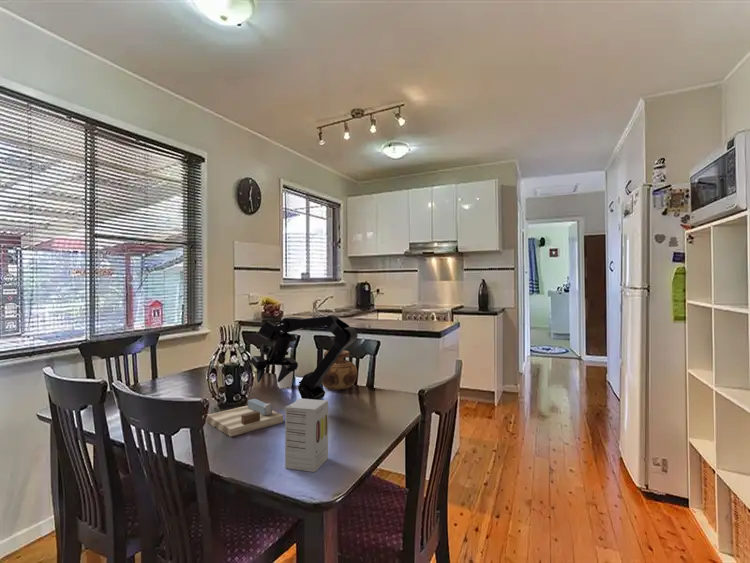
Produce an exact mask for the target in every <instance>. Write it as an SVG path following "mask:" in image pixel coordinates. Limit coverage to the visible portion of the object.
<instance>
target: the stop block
mask: <svg viewBox="0 0 750 563" xmlns="http://www.w3.org/2000/svg"><path fill="white" fill-rule="evenodd" d="M257 421H260V412H259V411H255V412H251V413H247V414H243V415H241V424H243V425H246V424H250V423H253V422H257Z"/></svg>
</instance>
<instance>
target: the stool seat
mask: <svg viewBox="0 0 750 563" xmlns="http://www.w3.org/2000/svg"><path fill="white" fill-rule="evenodd" d="M251 412H255V411H254V410H252V409H250V408H248V405H245V406H239V407H234V408H232V409H231V408H230V409H226V410H222V411H218V412H214V413H209V414H207V415H208V416H207V422H208V423H207V422H206V423H207V424H209V425H211V426H212V427H214V428H215V427H216V428H215V429H217V430H219V431H220V430H221V431H220V432H222V433H223V432H224V433H223V434H225V435H227V436H228V435H229V437H230V436H231V437H233V436H239V435H241V434H246V433H249V432H252V431H256V430H259V429H262V428H266V427H270V426H273V425H277V424H280V423H281V424H282V423H284V414H282V413H279V412H277V411H274V410H273V409H272V414H271V415H263V414H260V421H257V422H253V423H250V424H246V425H243V424H241V415H243V414H247V413H251Z"/></svg>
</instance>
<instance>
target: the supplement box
mask: <svg viewBox="0 0 750 563" xmlns="http://www.w3.org/2000/svg"><path fill="white" fill-rule="evenodd" d="M284 412H285V413H284V415H285V416H284V418H285V419H284V424H285V425H284V428H285V430H284V431H285V432H284V434H285V435H284V437H285V438H284V444H285V445H284V449H285V450H284V459H285V460H284V468H285V469H289V470H297V471H298V470H299V471H304V472H312V473H315V472H317V471H318V469H319V468H320V467H321V466H322V465H324V463H325V462H326V461H327V460H328V459H329V400H325V399H321V400H314V399H302V398H301V397H300V398H298V399H297V400H296V401H293V402H292V403H290V404H288V405H287V406H285V408H284Z"/></svg>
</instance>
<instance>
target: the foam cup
mask: <svg viewBox="0 0 750 563" xmlns="http://www.w3.org/2000/svg"><path fill="white" fill-rule="evenodd" d="M274 366H275V367H274V368H275V373H276V375H275V376H276V382H277V388H278V387H279V389H283V388H284V389H288V388H287V387H290V386H291V387H292V384H293V377H294V376H293V375H294V371H292V372H290V373H289V374H288V375H287V376H286V377H284V378H283V379H282V380H281V381H280V382H278V381H277V380H278V377H279V374H280V371H281V368H282V365H274ZM291 387H290V388H291Z"/></svg>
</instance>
